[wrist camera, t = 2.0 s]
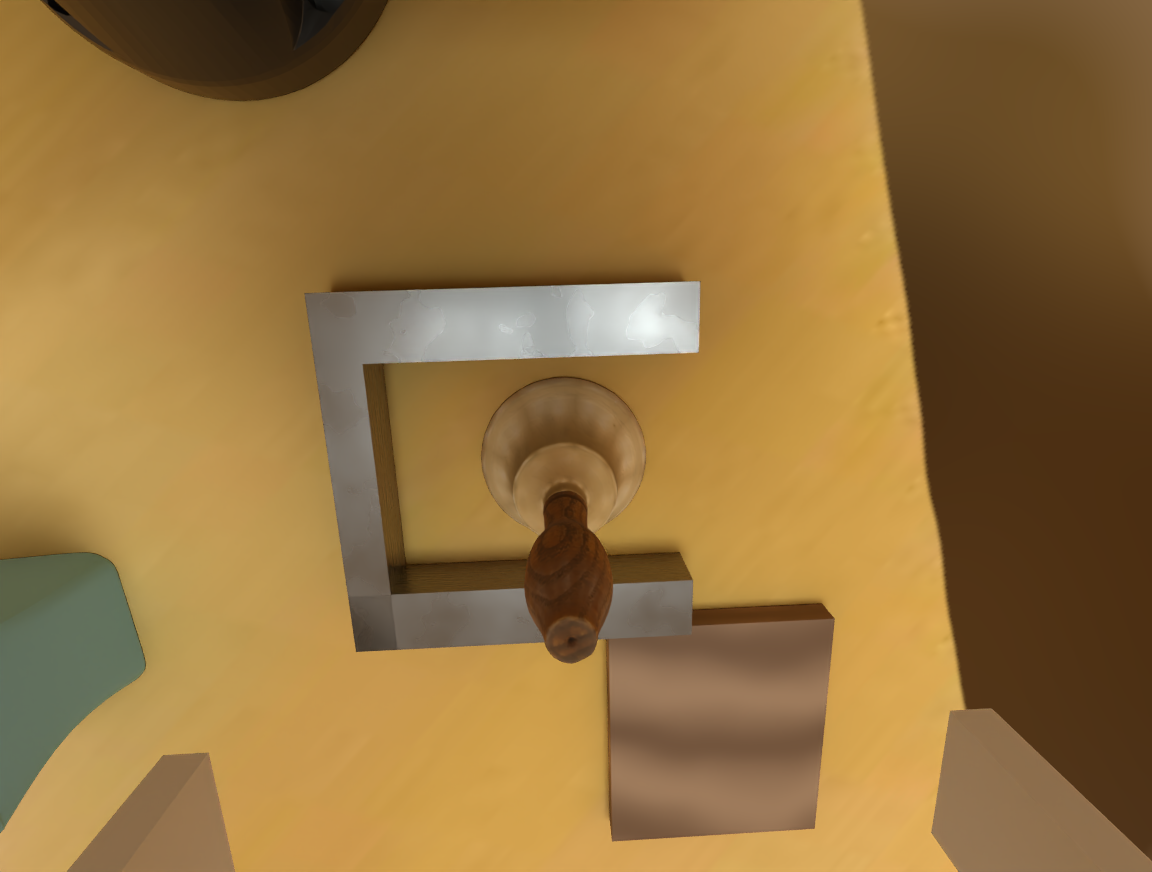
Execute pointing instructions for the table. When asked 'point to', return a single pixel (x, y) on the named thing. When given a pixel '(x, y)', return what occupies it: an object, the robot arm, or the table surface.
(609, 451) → the hand bell
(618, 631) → the silver c-shaped bracket
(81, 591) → the light blue holder
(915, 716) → the table surface
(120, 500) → the table surface
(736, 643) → the walnut board
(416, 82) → the table surface
